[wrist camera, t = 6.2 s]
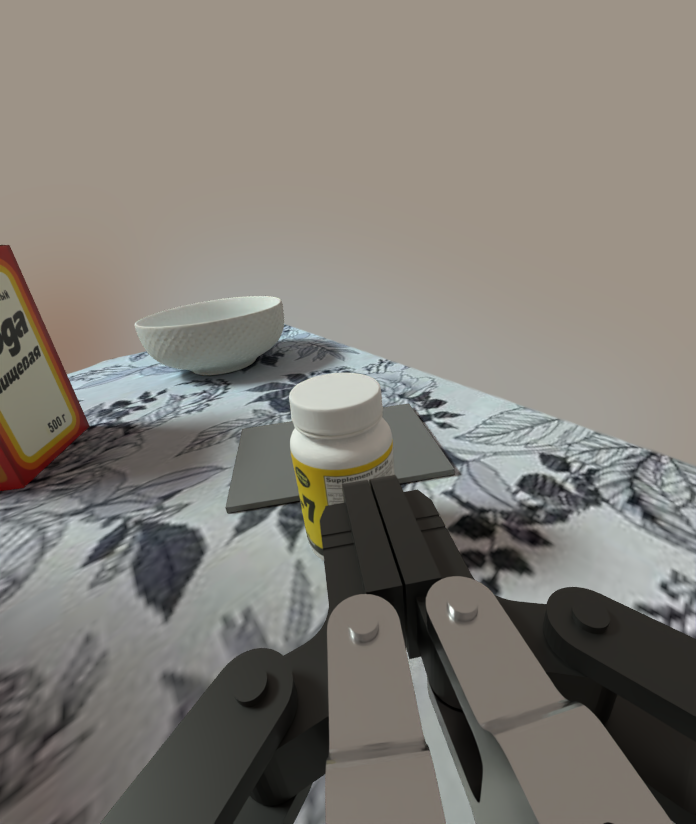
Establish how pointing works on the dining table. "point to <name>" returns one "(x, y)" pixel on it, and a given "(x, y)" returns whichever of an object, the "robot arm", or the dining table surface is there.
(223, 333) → the cereal bowl
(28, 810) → the dining table surface
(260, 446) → the mat
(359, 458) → the supplement bottle
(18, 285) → the baking soda box
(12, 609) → the dining table surface
